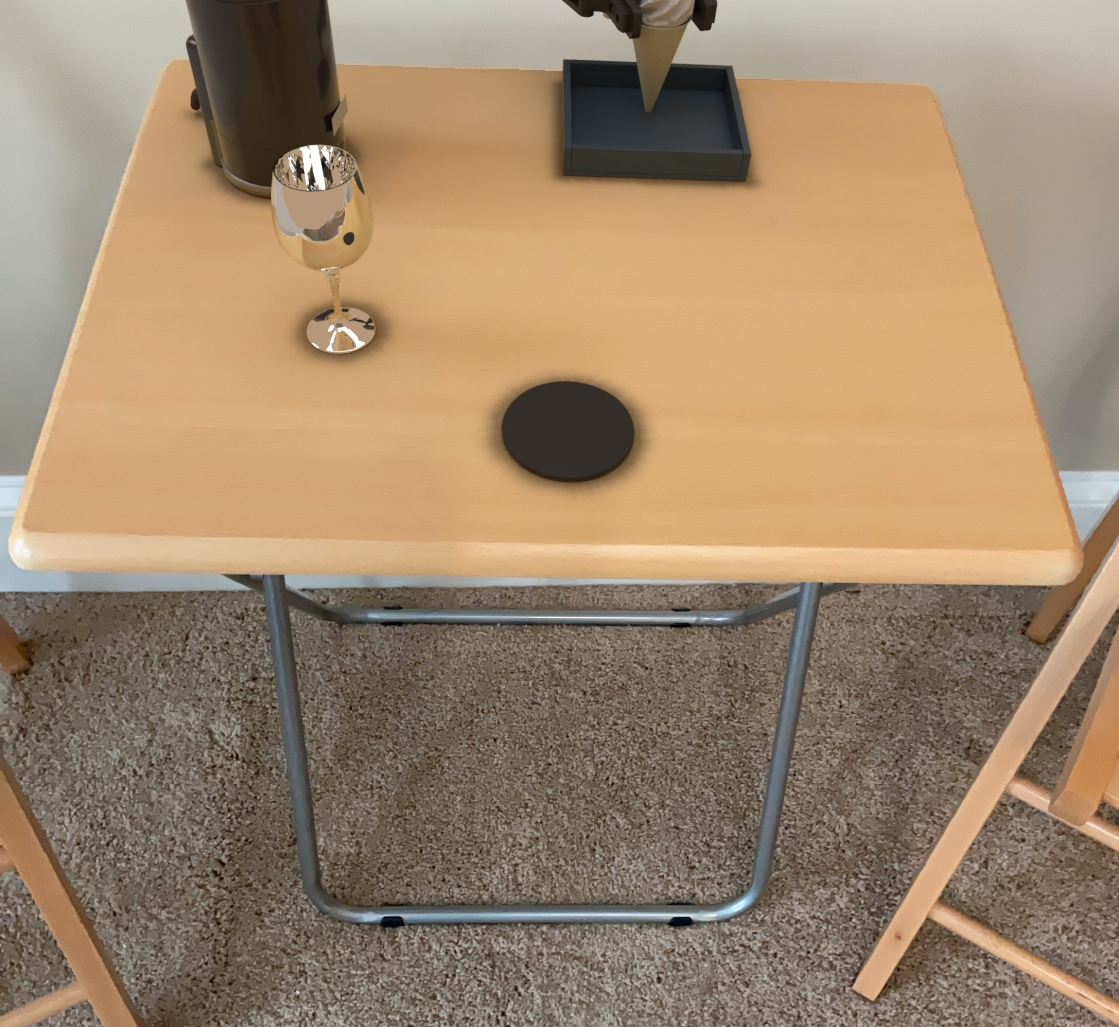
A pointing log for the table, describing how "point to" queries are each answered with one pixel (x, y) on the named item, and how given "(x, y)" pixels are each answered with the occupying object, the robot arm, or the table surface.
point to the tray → (652, 123)
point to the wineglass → (325, 232)
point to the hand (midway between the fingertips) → (673, 22)
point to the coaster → (567, 431)
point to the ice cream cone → (659, 42)
